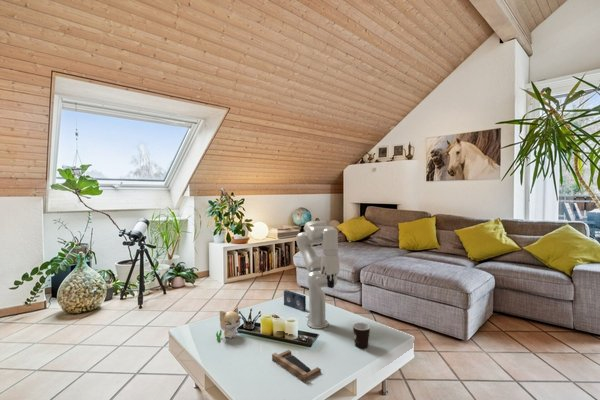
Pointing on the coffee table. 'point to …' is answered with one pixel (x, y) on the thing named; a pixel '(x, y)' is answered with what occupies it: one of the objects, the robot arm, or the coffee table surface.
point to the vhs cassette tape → (295, 300)
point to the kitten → (229, 323)
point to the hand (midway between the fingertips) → (330, 287)
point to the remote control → (298, 363)
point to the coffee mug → (361, 335)
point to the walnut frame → (293, 366)
